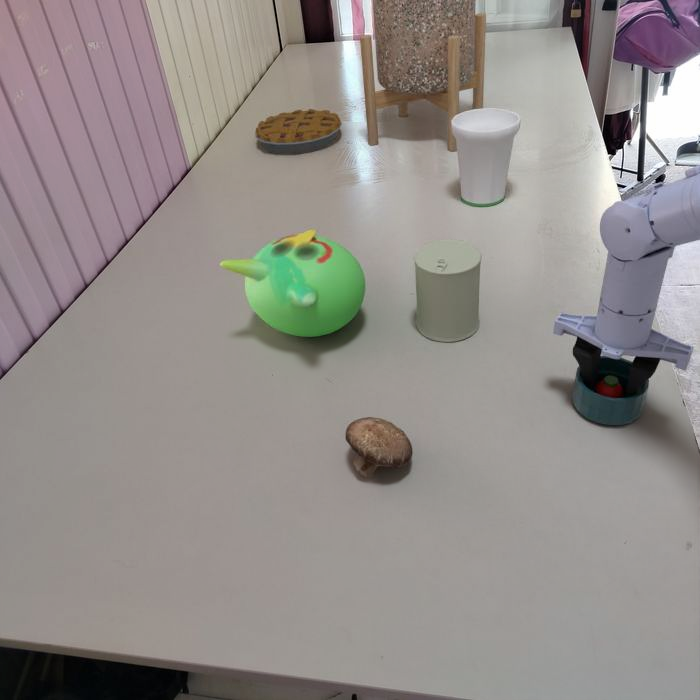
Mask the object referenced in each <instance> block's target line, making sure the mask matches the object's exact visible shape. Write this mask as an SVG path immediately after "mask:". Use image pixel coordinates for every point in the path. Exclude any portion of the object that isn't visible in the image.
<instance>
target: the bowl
mask: <svg viewBox="0 0 700 700" xmlns="http://www.w3.org/2000/svg"><path fill="white" fill-rule="evenodd" d="M632 362H633V360H629V359H627V358H623V357H621V358H620V359H613V358H609V357H606V356H603V355H601V356H600V361H599V369H598V377H597V381H596V384H595V386H594V388H593V390H592V391H591V390H590V389H588V388H587V387H586V386H585V385H584V379H583V375H582V371H581V369H580V366H579V365H578V366H577V368H576V371H575V376H574V377H575V378H574V383H573V384H574V385H573V390H572V395H571V398H572V399H571V400H572V403H573V406H574V408H575V409H576V410H577V412H578V413H580V414H581V415H582V416H583V417H584V418H586V419H588V420H590V421H593V422H595V423H597V424H601V425H606V426H622V425H626V424H630V423H632V422H634V421H635V420H636V419H638V418H639V417H640V415H641V414H642V412H643V409H644V406H645V402H646V398H647V394H648V391H649V385H650V378H649V379H648V380H646V381H645V382H644V383H643V384H642V385H641V386H640V387H639V388H638V389H637V390H636V392H635V393H634V394H633V396H631V397H627V398H623V397H624V394H625V391H626V388H627V384H628V378H629V369H630V366H631V364H632ZM606 376H615V377H616V378H617V379H618V383H620V385H621V386H622V388H623V397H622V398H611V397H605V396H602V395H599V394H597V393H595V387H596V385H597V384H598V383H599V382H600V381H602V380H604V378H605V377H606Z"/></svg>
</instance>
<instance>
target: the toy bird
mask: <svg viewBox="0 0 700 700" xmlns="http://www.w3.org/2000/svg"><path fill="white" fill-rule="evenodd" d="M219 264H220V267H222V268H223V269H225V270H227V271H230V272H232V273H235V274H238V275H240V276H243V277H244V290H245V297H246V299H247V301H248V304H249V306H250V308H251V309H252V310H253V311H254V313H255V314H256V315H257V316H258V318H259V319H260V320H262V321H263V322H264V323H266V324H267V325H268V326H271V327H272V328H273V329H275V330H277V331H279V332H281V333H284V334H287V335H290V336H294V337H295V336H296V337H304V338H313V337H321V336H325V335H330V334H333V333H334V332H336V331H338V330H340V329H342V328H343V327H345V326H346V325H347V324H349V323H350V322H351V321H353V319H354V318H355V317H356V315H357V314H358V312H359V310H360V309H361V307H362V305H363V303H364V302H363V301H364V298H365V294H366V277H365V273H364V270H363V268H362V267H361V264H360V262H359V261H358V259H357V258H356V257H355V256H354V254H353V253H351V252H350V251H349V250H348V249H347V248H346V247H344V246H343V245H342V244H340V243H339V242H336V241H334V240H332V239H330V238H328V237H324V236H322V235H317V229H315V228H313V229H309V230H306V231H304V232H303V231H302V232H301V233H298V234H290V235H285V236H281V237H279V238H277V239H274V240H272V241H270V242H269V243H267V244H265V245H264V246H263V247H262V248H260V249H259V250H258V252H257V253H255V255H254V256H253V258H245V259H244V258H237V259H236V258H235V259H225V260H222V261H220V263H219Z"/></svg>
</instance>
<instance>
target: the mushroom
mask: <svg viewBox="0 0 700 700" xmlns="http://www.w3.org/2000/svg"><path fill="white" fill-rule="evenodd" d="M344 438H345V441H346V443H347V444H348V445H349V446H350V447H351V449H352V450H353V451H354V452H355V453H356V455H355V457H354V459H353V465H354V467H355V470H356V471H357V472H358V473H359V475H361V476H362V477H364V478H371V477H372V475H373V474H374V473H375V471H376V470H377V468H378V467H388V468H400V467H405V466H406V465H408V464H409V462H410V461H411V459H412V458H413V453H414V452H413V446H412V445H413V444H412V443H411V440H410V439H409V437H408V436H407V434H406V433H405V432H404V430H402V428H400V427H398V426H397V425H395V424H394V423H393V422H390V421H388V420H386V419H383V418H380V417H373V416H366V417H361V418H359V419H356V420H353V421H352V422H350V424H348V426H347V427H346V430H345V437H344Z"/></svg>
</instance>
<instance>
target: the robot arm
mask: <svg viewBox="0 0 700 700" xmlns="http://www.w3.org/2000/svg"><path fill="white" fill-rule="evenodd" d="M684 175H685V177H684V178H681V179H678V180H675V181H673V182H670V183H668V184H665V183H664V182H663V181H660V182H657V183H654V184H652V185H649V186H647V187H646V188H645V191H646V192H645V193H642V194H639V195H636V196H633V197H630V198H628V199H625V200H618V201H617V200H616V201H614V203H613V204H612V205H611V206H609V207H607V208H606V209H605V210H604V212H603V213H602V214H601V218H600V221H599V233H600V234H599V235H600V237H601V238H600V239H601V242H602V244H603V245H604V247H605V249H606V250H607V255H606V256H607V257H606V260H605V268H604V273H603V279H602V285H601V290H600V295H599V301H598V307H597V313H596V315H586V314H585V315H584V314H583V315H582V314H572V313H566V312H559V314H558V315H557V317H556V318H555V320H554V323H553V330H552V334H553V335H557V336H563V335H564V334H566V335H569V336H573V337H576V340H575V342H574V343H575V344H574V345H573V347H572V357H573V358H574V359H575V361H576V363H577V364H578V367H579V366H580V369H581V371H582V375H583V379H584V385H585V386H586V387H587V388H588V389H590V390H591V391H592V390H593V388H594V386H595V384H596V381H597V377H598V369H599V361H600V356H606V357H609V358H613V359H620V358H623V356H626V357H627V356H628V357H634V358H633V360H632V364H631V366H630V369H629V378H628V384H627V388H626V391H625V394H624V397H623V398H627V397H631V396H633V394H634V393H635V392H636V390H637V389H638V388H639V387H640V386H641V385H642V384H643V383H644V382H645V381H646V380H648V379H649V380H650V379H651V377H653V375H654V374H655V373H656V371H657V368H658V366H659V364H660V362H661V361H662V362H663V361H664V362H668V363H671V364H675V365H674V366H675V368H676V369H679V370H683V371H686V370H687V368H688V365H689V363H690V361H691V358H692V354H693V351H694V348H695V347H694V346H693V345H689V344H686V343H683V342H680V341H678V340H676V339H674V338H672V337H670V336H667V335H665V334H663V333H661V332H660V331H657V330H655V329H653V324H654V319H655V316H656V310H657V307H658V303H659V298H660V294H661V291H662V286H663V282H664V279H665V274H666V272H667V266H668V262H669V259H672V258H673V255H674V251H675V249H676V247H677V246H681V245H684V244H689V243H693V242H696V241H700V164H698V165H696V166H692V167H690V168H688V169H686V170H684Z"/></svg>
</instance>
